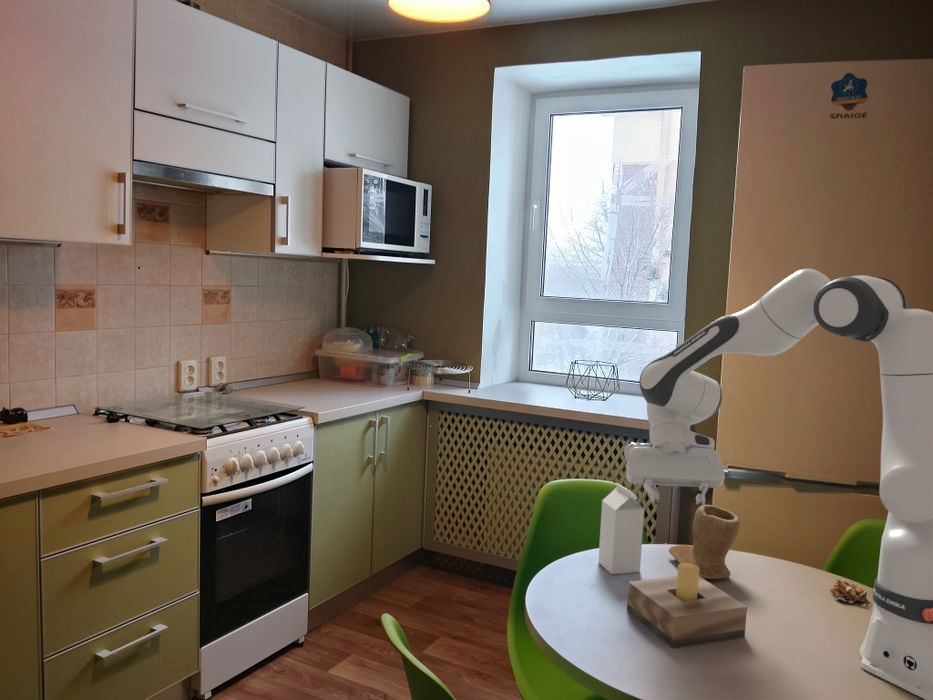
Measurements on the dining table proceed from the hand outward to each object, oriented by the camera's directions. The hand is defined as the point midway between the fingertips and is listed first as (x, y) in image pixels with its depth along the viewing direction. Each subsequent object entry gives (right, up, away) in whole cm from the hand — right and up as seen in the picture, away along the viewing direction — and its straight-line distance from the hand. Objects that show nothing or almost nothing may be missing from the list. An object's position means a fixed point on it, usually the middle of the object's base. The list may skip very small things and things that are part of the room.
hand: (678, 502), depth 164 cm
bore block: (-1, -22, -9) cm, 24 cm away
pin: (-1, -20, -9) cm, 22 cm away
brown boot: (+11, -19, +19) cm, 29 cm away
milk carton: (-9, -19, +18) cm, 27 cm away
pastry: (+39, -22, +9) cm, 46 cm away
